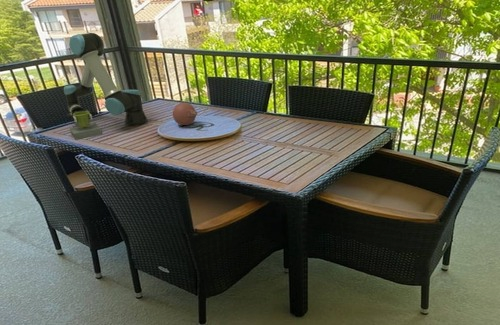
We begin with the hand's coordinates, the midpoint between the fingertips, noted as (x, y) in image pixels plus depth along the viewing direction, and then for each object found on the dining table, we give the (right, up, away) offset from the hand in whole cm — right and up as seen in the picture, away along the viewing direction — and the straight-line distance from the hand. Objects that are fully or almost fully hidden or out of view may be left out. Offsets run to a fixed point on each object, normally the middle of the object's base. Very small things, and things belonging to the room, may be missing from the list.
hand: (83, 118), depth 221 cm
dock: (-2, -9, +8) cm, 12 cm away
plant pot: (-2, -4, +6) cm, 8 cm away
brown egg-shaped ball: (+63, -3, +15) cm, 65 cm away
